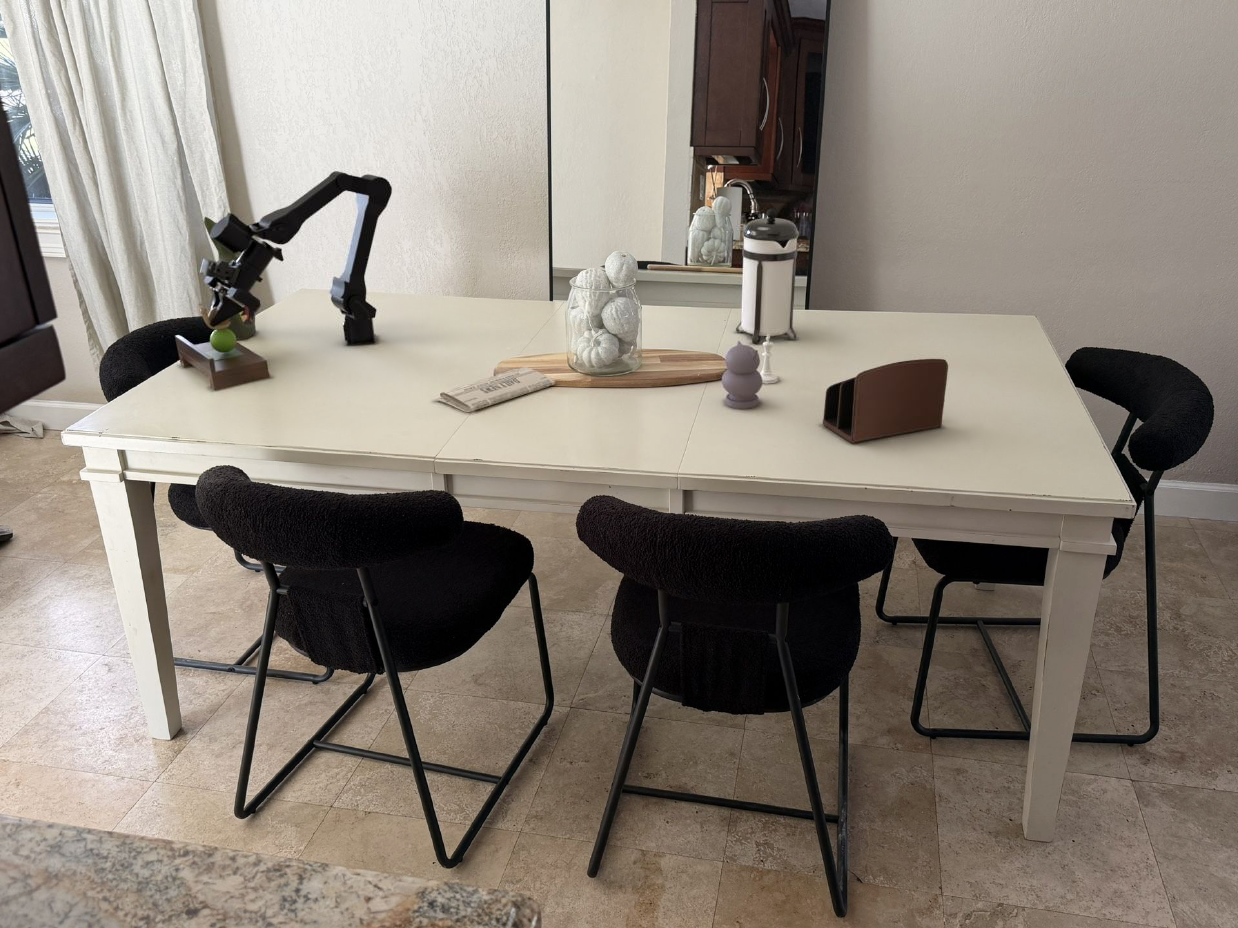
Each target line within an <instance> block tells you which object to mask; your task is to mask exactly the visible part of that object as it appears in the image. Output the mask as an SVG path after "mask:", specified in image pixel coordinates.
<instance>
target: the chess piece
mask: <svg viewBox="0 0 1238 928" xmlns="http://www.w3.org/2000/svg"><path fill="white" fill-rule="evenodd" d="M770 339H771V336H769V334H767V336H766V337H765V341H763V343H762V346H763V350H764V352H762V354H761V356H762V357H764V360H763V365H762V370H761V371H760V372H759V373H760V375H761V377H762V381H763V383H762V384H765V385H766V384H767V385H769V384H775V383H777V382H778V381H779V379H778V375H777V374H775V373H773V371H772V370H771V363H770V361H771V360H770V359H771V358H770V357H772V356H773V353H772V352H771V350H772V348H773V344H774V343H773V342H772V341H770Z"/></svg>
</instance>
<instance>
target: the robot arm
mask: <svg viewBox="0 0 1238 928" xmlns="http://www.w3.org/2000/svg"><path fill="white" fill-rule="evenodd" d="M344 192H350V193H355V202H356V203H355V204H356V209H357V215H356V218H355V223H354V227H353V231H352V235H351V240H350V245H349V248H348V253H347V258H346V261H345V266H344V270H343V272H342V273H341V275H340V276H339V277H337V276H333V278H332V281H331V282H332V283H331V287H330V290H329V292H328V293H329V294H330V300H331V302H332V304H333V306H334V307H336V308H337V309H339V312H340V313H341V315H344V321H343V323H342V329H343V336H344V341H346V345H347V346H354V345H370V344H372V345H373V344H375V343H376V337H377V336H376V333H375V328H374V327H375V325H374V319H375V318H376V316H377V315H376V314H377V311H378V309H377V308H376V307H374V306H373V305H372V304H370V303H369V302H368V301H367V285H366V279H365V276H366V271H367V267H368V263H369V259H370V256H371V255H370V254H371V250H372V247H373V242H374V237H375V233H376V229H377V226H378V220H379V218H380V216H381V215H382V214H383V212H384V211H385V210H386V208H387V206H388V204H389V201H390V199H391V196H392V193H393V187H392V185H391V183H390V181H389V180H388V179H387V178H385V177H382V176H378V175H374V174H370V173H369V174H368V173H367V174H363V175H362V176H357V175H353V174H348V173H347V172H343V171H338V170H335V171H332V172H330V174H329V175H328V176H327V177H326V178H325V179H323V180H322V181H321V182H319V183H318V184H316V185H315V186H314V187H312V188H311V189H310V190H308V191H307V192H306V193H305V194H303V195H302V196H300V197H299V198H298V199H296V200H295V201H293V202H292V203H291V204H290V205H287V206H284V207H282V208H278V209H276V210H274V211H271V212H270V213H268V214H266V215H264V216H261V218H260V219H259V221H257V222H253V223H250V224H246V223H245V222H244V221H242V220H240V219H239V217H238V216H237V215H235V214H234V213H232V212H228V213H226V215H225V216H224V217H222V218H221V219H219V221H217V222H215V223H216V224H215V225H214V227H213V228H212V230H211V233H210V236H209V238H210V237H211V238H212V239H214V240H215V241H216V242H218V243H219V244H221V245H222V246H224V247H225V248H226V249H228V250H229V251H231V252H232V253H237V252H243V253H242V254H241V256H240V257H239V259H238V260H237V261H234V260H233V261H231V262H230V263H228V262H226V261H221V260H219V259H218V260H217V261H215V260H211V259H207V258H203V259H202V262H201V267H200V271H199V273H200V274H203V275H204V276H205V279H204V280H203V283H205V284H206V285H208V286H209V287H210V288H209V289H210V292H211V296H212V295H213V302H212V306H211V309H210V308H209V310H210V311H211V310H212V309H213V308H214V307H216V306H218V308H217V310H216V311H215V313H214V315H213V317H212V319H211V322H210V325H211V326H213V327H215V326H217V325H219V324H220V323H222V322H224V321H225V320H227V319H229V318H231V317H233V316H234V315H236V314H238V313H240V312H242V311H245V310H246V309H245V308H243V307H244V306H246V307H248V308H249V309H250V310H252V311H253V312H255V314H256V313H257V312H258V311H259V309H260V308H261V306H262V305H261V299H259V298H258V297H256V296H255V295H253V293H252V292H251V291H252V290H253V288H254V287H255V285H256V284H257V282H258V283H262V281H263V280H264V279H263V278H262V277H261V276H262V275H263V274H264V272H265V271H266V269H267V268H268V266H269V265H270V264H271V262H272V261H273V259H275V260H278V261H280V262H284V260H285V259H284V256H283V249H282V248H281V247H278V246H276V247H273V246H272V244H276V245H282V246H283V245H287V244H288V243H289V242H290V241H291V240H292V239H293V238H294V237H295V236H296V235H297V234H298V233H299V231H300V229H301V228H302V226H303V224H304V223H305V222H307V220H308V219H310V218H311V217H312V216H314V215H315V214H316V213H318V212H319V211H320V210H321V209H323V208H324V207H326V206H327V205H328V204H330V203H331V202H332V201H333V200H335V199H336V198H337V197H339V196H340V195H342V194H343V193H344ZM254 237H256V238H259V239H260V240H261V241H258V240H256V238H254ZM211 238H210V239H211ZM265 240H266V241H265ZM267 241H268V242H271V243H272V244H269V243H268V242H267ZM213 288H214V289H213ZM249 292H251V293H249ZM210 311H209V312H208V314H209V313H210ZM208 317H209V315H208Z"/></svg>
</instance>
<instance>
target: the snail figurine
mask: <svg viewBox="0 0 1238 928" xmlns="http://www.w3.org/2000/svg"><path fill="white" fill-rule="evenodd" d="M197 305H198V307H199V313H200V314H201V316H202V319H203V321H204V323H205V324H206V326H207V327H208V328H209V329H211V330H213V331H212V333H211V334H210V337H209V342H210V344H211V346H212V347H213V349H215V350H216V351H218V352H221V353H227V352H230V351H231V350H233V349H234V347H235V345H236V342H237V339H236V337H235V335H234V333H233V332H232V331H231V330H229V329H226V328H227V327H228V326H229V325H230V323H231V321H229V319H227V320H225V321H224V322H222V323H220V324H219V325H217V326H215V327H213V326H211V325H210V322H211V319H212V317H213V315H214V313H215V311H216V310H217V308H218V306H216V307H214V308H213V309H212V310H211V311H209V312H210V313H209V312H208V310H207V308H206V307H204V306H203V304H202V302H197ZM202 306H203V307H202ZM207 312H208V313H207ZM208 316H209V317H208Z"/></svg>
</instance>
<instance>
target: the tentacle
mask: <svg viewBox="0 0 1238 928" xmlns="http://www.w3.org/2000/svg"><path fill="white" fill-rule="evenodd" d="M216 223H217V222H215V221H214V220H213V219H211V218H209V217H208V216H204V219H203V224H204V227H205V229H206V231H207V233H208V236H209V239H210V240H211V242H212V244H213V245H214V247H215V249H216V251H217V253H218V255H217V256H218V260H221V261H226V262H228V263H230V262H231V261H233V260H234V261H237V260H238V259H239V257H240V256H241V254H242V253H243V252H237V253H232V252H231V251H229V250H228V249H226V248H225V247H224V246H222V245H221V244H219V243H218V242H216V241H215V240H214V239H212V238H211V237H210V233H211V230H212V228H213V227H214V225H215V224H216ZM212 289H214V288H212ZM249 293H251V294H252V292H251V291H250V292H249ZM212 302H213V295H212V294H211V297H210V305H209V310H208V311H209V312H210V309H211V306H212ZM243 308H245V309H246V310H245V311H242V312H240V313H238V314H236V315H234V316H233V317H231V318H229V321H231V323H230V325H229V326H228V327H227V328H226V329H229V330H231V331H232V332H233V333H234V335H235V337H236V340H245V339H248V338H250V337H252V336H254V335H255V333H256V332H257V328H256V313H255V312H253V311H252V310H250V309H249V308H248V307H246V306H244V307H243Z"/></svg>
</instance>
